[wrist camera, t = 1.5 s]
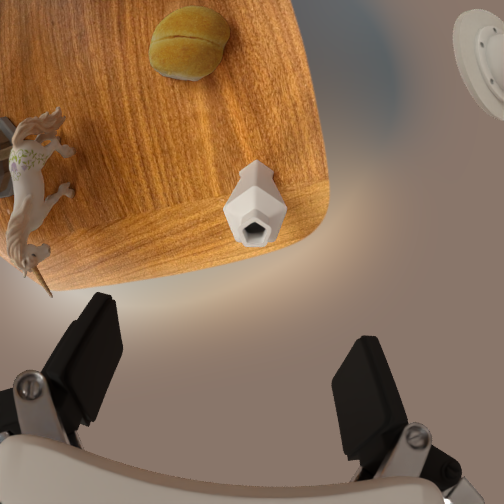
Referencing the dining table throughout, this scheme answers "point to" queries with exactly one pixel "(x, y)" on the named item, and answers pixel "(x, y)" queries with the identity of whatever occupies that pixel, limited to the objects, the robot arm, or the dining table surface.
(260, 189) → the white faceted vase
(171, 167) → the dining table surface
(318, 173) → the dining table surface
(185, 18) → the bread roll
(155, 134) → the dining table surface
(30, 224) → the unicorn figurine
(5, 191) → the tankard
